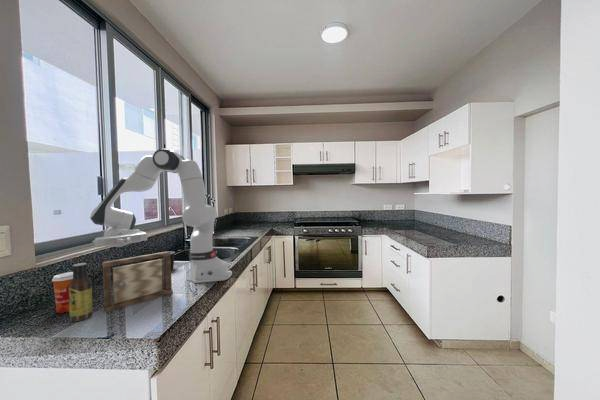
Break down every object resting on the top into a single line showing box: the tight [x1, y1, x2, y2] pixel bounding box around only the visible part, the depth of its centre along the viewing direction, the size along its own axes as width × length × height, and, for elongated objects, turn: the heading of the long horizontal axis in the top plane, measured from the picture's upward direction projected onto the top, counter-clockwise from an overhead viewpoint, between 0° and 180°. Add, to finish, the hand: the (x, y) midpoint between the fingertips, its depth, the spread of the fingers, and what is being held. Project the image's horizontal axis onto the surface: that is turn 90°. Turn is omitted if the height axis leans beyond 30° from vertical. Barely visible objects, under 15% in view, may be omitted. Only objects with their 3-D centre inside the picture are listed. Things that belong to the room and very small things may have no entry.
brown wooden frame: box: [102, 250, 174, 313], centre depth 104 cm, size 24×6×18 cm, turn 137°
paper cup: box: [51, 271, 73, 314], centre depth 96 cm, size 8×8×14 cm
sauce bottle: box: [69, 262, 93, 322], centre depth 89 cm, size 6×6×20 cm
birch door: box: [112, 258, 165, 303], centre depth 104 cm, size 19×3×14 cm, turn 137°
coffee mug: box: [151, 251, 176, 271], centre depth 147 cm, size 12×9×10 cm
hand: (125, 241), depth 112 cm, fingers closed
